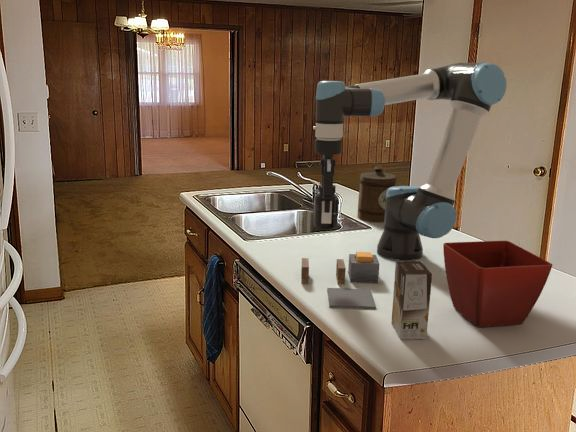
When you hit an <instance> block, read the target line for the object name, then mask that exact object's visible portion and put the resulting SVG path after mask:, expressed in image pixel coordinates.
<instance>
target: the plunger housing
mask: <svg viewBox="0 0 576 432" xmlns="http://www.w3.org/2000/svg"><path fill="white" fill-rule="evenodd" d="M372 256H373V261H372V262H359V261H356V253H354V254H353V253H349V254H348V266H347V267H348V268H347V269H348V270H347V273H348V277H349V282H350V283H354V284H379V276H380V275H379V274H380V262H379V259H378V256H377V255H376V254H372Z"/></svg>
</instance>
